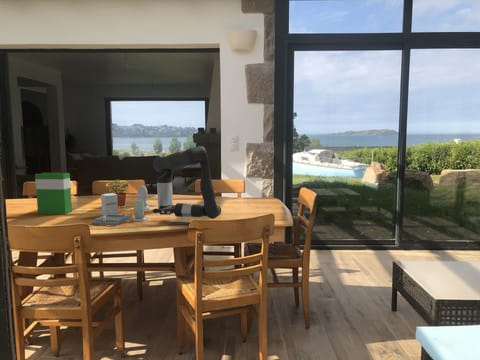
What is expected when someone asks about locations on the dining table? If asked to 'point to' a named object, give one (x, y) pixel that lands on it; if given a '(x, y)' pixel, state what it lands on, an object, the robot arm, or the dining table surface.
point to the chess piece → (143, 196)
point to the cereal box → (53, 193)
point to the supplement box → (109, 204)
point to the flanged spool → (139, 211)
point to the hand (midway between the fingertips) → (156, 209)
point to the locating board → (111, 219)
